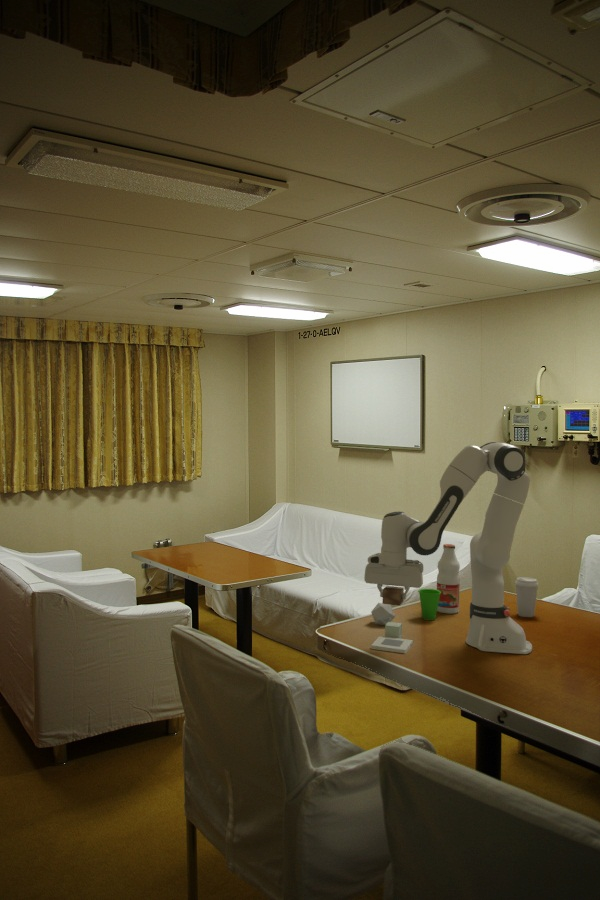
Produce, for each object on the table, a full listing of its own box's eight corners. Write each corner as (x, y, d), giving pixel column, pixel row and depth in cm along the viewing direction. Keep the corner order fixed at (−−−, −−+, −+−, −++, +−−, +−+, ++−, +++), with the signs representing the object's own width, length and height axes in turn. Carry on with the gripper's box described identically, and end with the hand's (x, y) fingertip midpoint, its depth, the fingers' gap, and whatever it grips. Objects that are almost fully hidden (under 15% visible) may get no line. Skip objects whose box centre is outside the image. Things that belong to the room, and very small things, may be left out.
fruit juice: (463, 611, 284) (465, 545, 283) (451, 615, 277) (452, 547, 276) (443, 607, 290) (445, 542, 290) (431, 610, 284) (433, 544, 283)
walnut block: (403, 601, 236) (403, 587, 236) (399, 605, 231) (399, 591, 230) (386, 599, 238) (387, 585, 238) (382, 603, 233) (382, 589, 233)
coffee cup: (511, 611, 285) (512, 576, 285) (535, 612, 284) (536, 577, 284) (516, 617, 276) (517, 581, 275) (540, 618, 274) (541, 582, 274)
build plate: (412, 643, 238) (413, 639, 238) (405, 653, 226) (405, 649, 226) (379, 639, 242) (379, 635, 242) (371, 648, 231) (371, 644, 231)
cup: (423, 614, 278) (424, 587, 278) (444, 618, 272) (444, 591, 272) (413, 618, 270) (414, 591, 270) (434, 622, 265) (435, 595, 265)
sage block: (401, 636, 246) (402, 623, 246) (398, 640, 241) (398, 626, 241) (388, 635, 247) (388, 621, 247) (384, 638, 243) (385, 625, 243)
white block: (380, 629, 256) (396, 609, 256) (364, 615, 260) (379, 595, 261) (386, 632, 263) (401, 612, 263) (370, 618, 267) (385, 599, 268)
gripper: (425, 559, 233) (424, 598, 234) (368, 554, 241) (367, 593, 241) (421, 562, 227) (421, 603, 228) (363, 557, 235) (362, 597, 235)
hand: (393, 598), depth 234 cm, fingers closed on walnut block, 6 cm apart
